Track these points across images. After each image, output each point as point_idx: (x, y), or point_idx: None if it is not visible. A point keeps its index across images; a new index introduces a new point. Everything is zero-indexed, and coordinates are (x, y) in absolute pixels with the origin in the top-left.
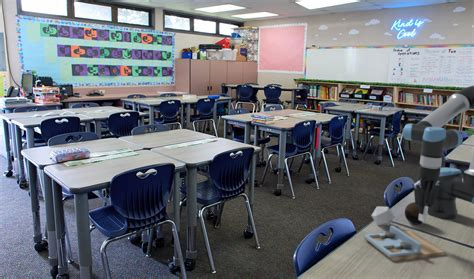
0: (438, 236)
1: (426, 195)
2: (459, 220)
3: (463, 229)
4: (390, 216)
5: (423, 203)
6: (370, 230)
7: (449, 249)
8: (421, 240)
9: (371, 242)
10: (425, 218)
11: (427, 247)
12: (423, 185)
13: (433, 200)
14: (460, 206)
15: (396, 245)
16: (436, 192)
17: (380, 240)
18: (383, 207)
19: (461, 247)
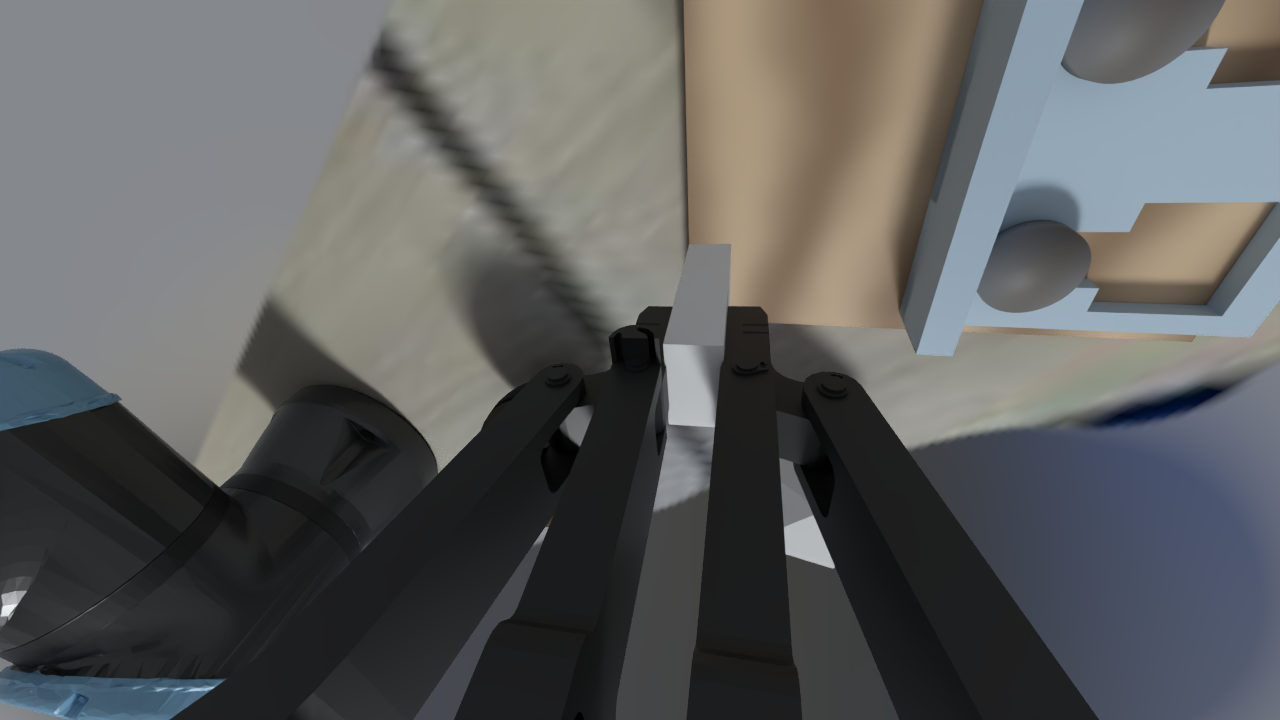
0: (525, 231)
1: (721, 536)
2: (296, 363)
3: (314, 276)
4: (788, 462)
5: (774, 401)
6: (964, 404)
7: (571, 13)
8: (739, 170)
9: None
10: (703, 262)
11: (797, 29)
12: None
13: (540, 413)
14: (242, 457)
15: (1183, 72)
16: (415, 545)
17: (1139, 241)
18: (797, 546)
19: (447, 35)
